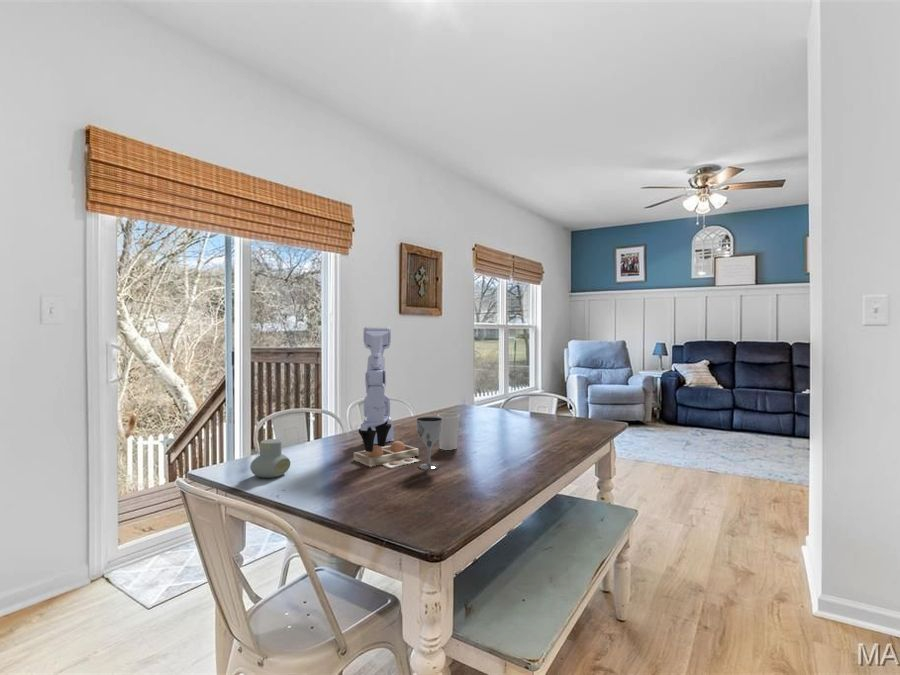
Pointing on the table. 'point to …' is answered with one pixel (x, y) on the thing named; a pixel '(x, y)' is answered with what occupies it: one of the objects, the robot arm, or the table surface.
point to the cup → (449, 431)
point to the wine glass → (429, 435)
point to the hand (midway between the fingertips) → (375, 448)
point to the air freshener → (270, 460)
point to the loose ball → (376, 451)
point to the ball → (397, 447)
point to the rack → (389, 457)
